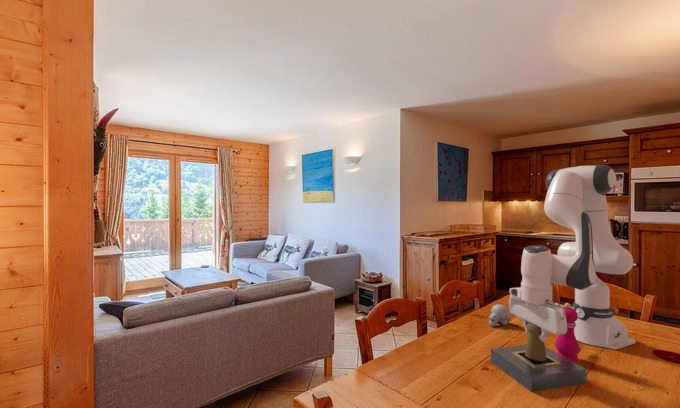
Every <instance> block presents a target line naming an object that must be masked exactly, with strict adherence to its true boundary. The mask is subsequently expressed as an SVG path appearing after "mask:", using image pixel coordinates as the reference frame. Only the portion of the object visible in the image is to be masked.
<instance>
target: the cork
mask: <svg viewBox="0 0 680 408" xmlns="http://www.w3.org/2000/svg"><path fill="white" fill-rule="evenodd" d="M527 330H528V332H529V333H528V335H527V339H526V344H525V345H526V351H525V355H526V356H527V357H528V358H530V359H533V360H537V361H545V360H546V352H545V347H546V345H545V342H542V341H540V340H539V339H538V338H539V337H538V335H541V334H542V332H543V331H541V328H540V327H538V326H536V325H534V324H532V323H530V322H529V323H528V324H527Z"/></svg>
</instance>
